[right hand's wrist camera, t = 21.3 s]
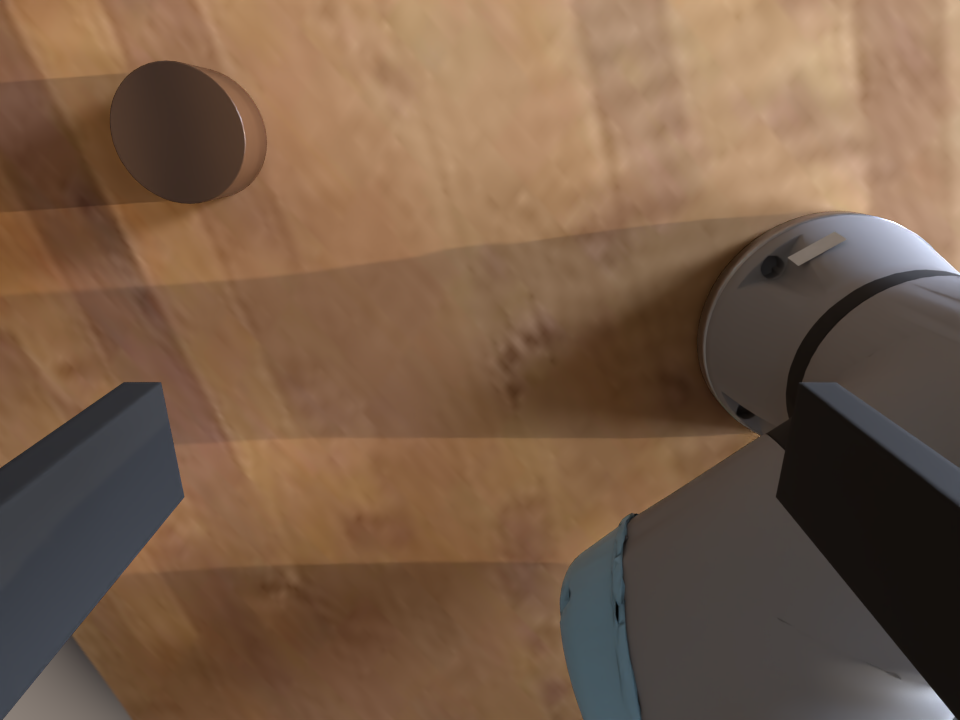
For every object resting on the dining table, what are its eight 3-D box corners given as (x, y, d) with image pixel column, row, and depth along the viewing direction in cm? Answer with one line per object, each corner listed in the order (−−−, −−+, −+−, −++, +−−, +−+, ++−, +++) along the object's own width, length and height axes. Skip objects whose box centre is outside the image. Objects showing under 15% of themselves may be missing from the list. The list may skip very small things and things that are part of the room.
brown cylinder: (258, 67, 34) (235, 60, 31) (273, 197, 37) (253, 203, 33) (132, 67, 34) (95, 60, 31) (156, 197, 37) (124, 203, 33)
